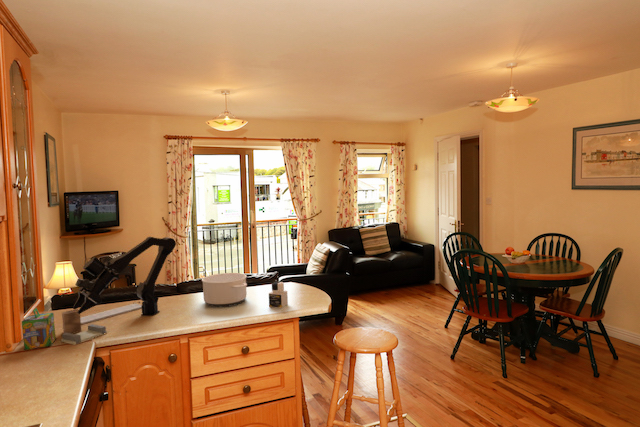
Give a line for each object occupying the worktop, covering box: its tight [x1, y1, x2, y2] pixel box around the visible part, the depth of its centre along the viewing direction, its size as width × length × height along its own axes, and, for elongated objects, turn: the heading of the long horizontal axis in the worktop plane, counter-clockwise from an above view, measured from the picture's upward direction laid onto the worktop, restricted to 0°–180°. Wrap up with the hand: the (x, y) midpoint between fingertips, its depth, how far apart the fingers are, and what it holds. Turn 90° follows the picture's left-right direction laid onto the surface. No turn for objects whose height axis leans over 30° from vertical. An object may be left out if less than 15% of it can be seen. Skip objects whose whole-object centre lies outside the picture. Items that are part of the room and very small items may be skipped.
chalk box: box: [21, 307, 57, 351], centre depth 164 cm, size 9×9×15 cm
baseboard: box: [80, 300, 142, 326], centre depth 204 cm, size 31×3×12 cm
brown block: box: [61, 308, 82, 334], centre depth 178 cm, size 6×4×9 cm
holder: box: [60, 323, 108, 345], centre depth 171 cm, size 14×9×3 cm, turn 153°
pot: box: [201, 272, 248, 308], centre depth 216 cm, size 33×23×14 cm
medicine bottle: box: [268, 281, 289, 309], centre depth 206 cm, size 7×7×12 cm
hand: (76, 310), depth 179 cm, fingers open, 9 cm apart
